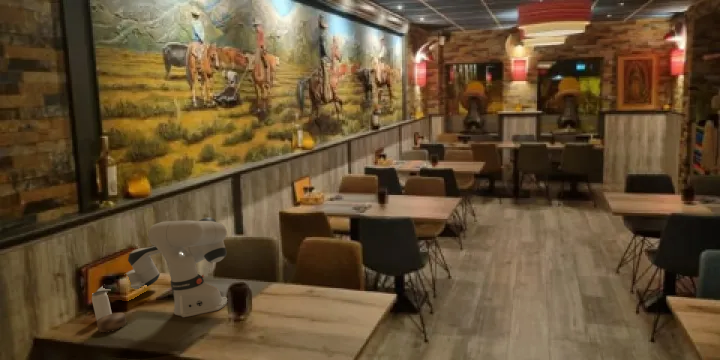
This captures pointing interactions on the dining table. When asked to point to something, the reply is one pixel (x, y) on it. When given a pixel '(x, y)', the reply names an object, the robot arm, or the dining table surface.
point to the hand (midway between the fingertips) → (112, 295)
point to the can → (101, 304)
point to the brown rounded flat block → (111, 322)
